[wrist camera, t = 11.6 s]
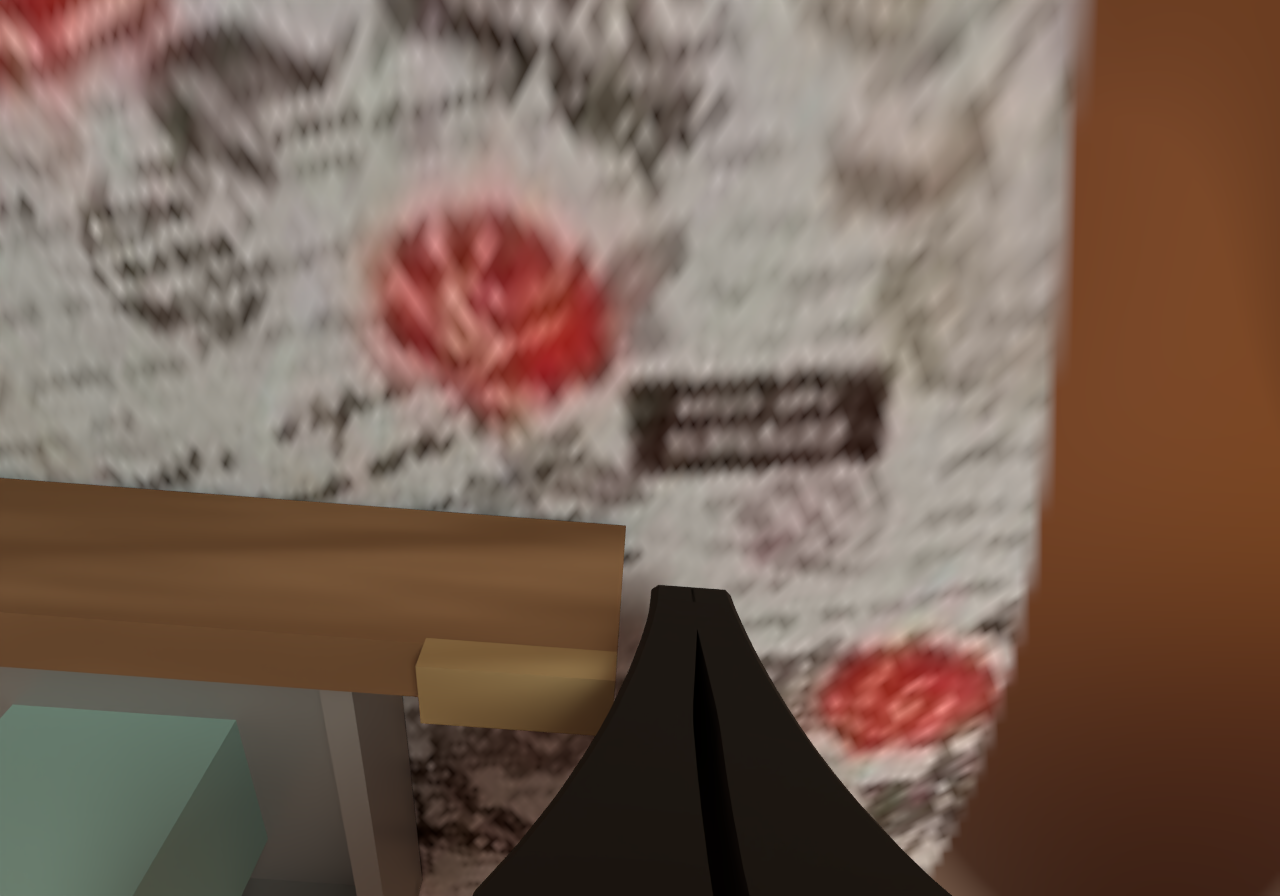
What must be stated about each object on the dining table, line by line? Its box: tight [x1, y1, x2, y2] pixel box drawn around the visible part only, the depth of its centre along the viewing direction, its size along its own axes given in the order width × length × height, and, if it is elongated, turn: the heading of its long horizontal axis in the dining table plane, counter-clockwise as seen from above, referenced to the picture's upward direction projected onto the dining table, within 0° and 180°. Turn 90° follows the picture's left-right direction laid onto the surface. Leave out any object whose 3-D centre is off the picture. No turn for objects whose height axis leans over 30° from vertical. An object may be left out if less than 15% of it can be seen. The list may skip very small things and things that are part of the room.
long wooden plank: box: [0, 478, 626, 736], centre depth 14 cm, size 1×16×4 cm, turn 86°
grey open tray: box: [0, 667, 422, 896], centre depth 18 cm, size 11×13×2 cm
